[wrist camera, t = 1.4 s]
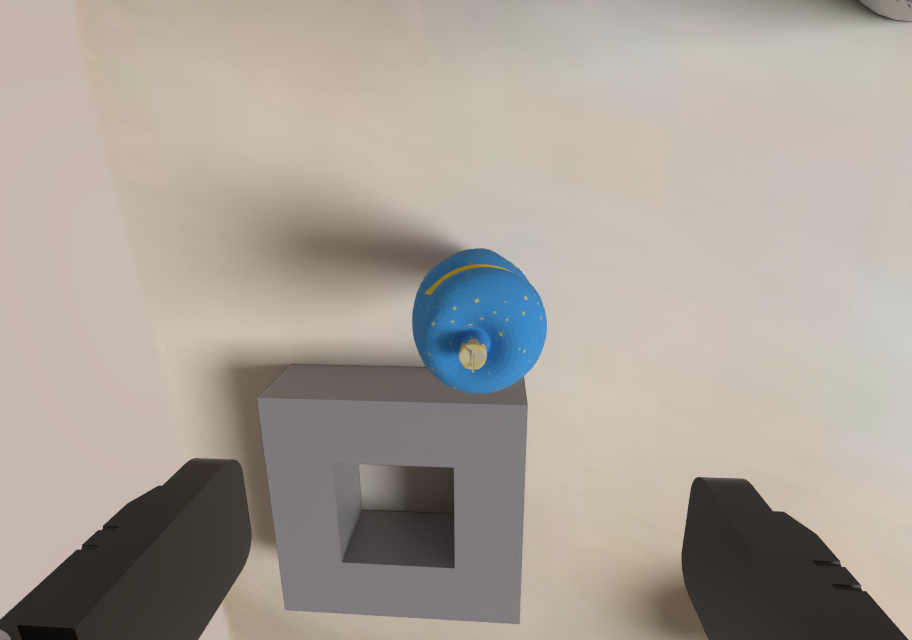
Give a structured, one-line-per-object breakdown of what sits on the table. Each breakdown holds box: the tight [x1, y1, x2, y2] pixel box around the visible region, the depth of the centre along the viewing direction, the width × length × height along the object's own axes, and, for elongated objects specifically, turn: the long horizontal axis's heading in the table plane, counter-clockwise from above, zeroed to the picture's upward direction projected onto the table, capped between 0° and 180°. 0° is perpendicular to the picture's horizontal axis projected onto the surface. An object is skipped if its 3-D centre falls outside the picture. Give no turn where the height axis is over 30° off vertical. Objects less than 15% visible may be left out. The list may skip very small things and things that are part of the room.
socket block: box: [257, 364, 528, 624], centre depth 32 cm, size 15×15×5 cm
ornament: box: [412, 248, 547, 394], centre depth 23 cm, size 5×5×15 cm
